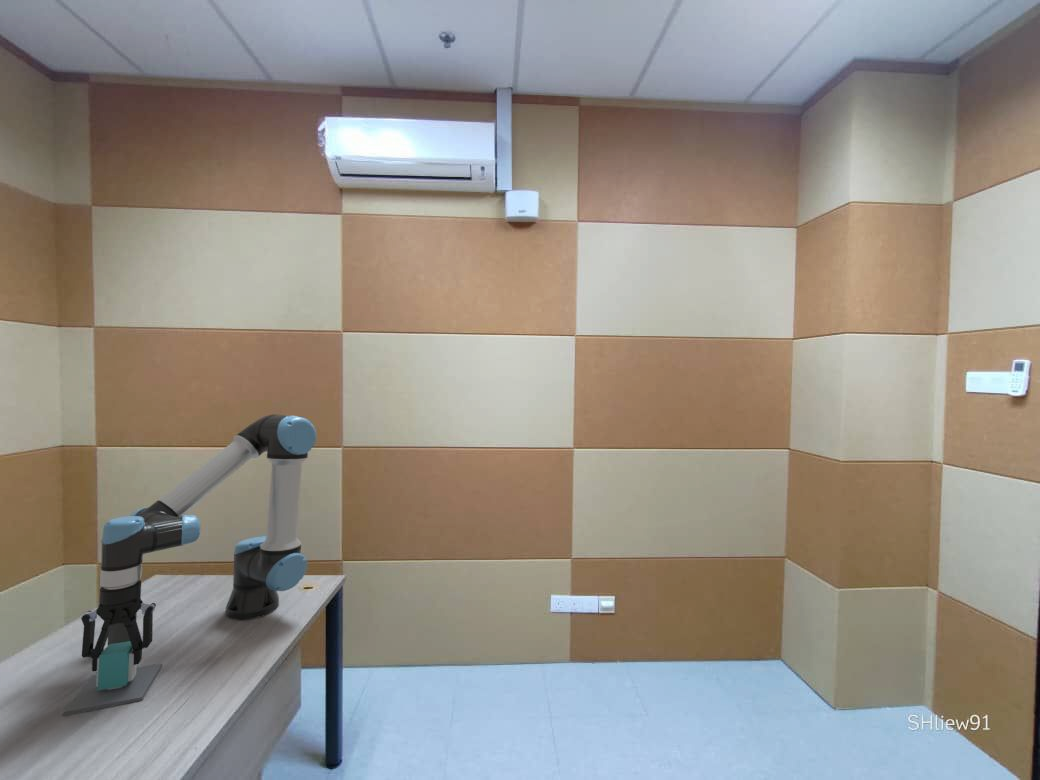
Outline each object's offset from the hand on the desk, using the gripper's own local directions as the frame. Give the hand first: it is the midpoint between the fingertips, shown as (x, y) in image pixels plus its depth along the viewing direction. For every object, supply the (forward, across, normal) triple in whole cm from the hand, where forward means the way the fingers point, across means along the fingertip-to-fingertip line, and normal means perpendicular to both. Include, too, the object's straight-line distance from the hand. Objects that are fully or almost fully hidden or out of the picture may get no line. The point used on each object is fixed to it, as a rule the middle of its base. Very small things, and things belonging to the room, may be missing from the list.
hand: (116, 680), depth 108 cm
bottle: (+2, +6, -21) cm, 22 cm away
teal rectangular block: (0, 0, 0) cm, 0 cm away
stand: (+2, 0, 0) cm, 2 cm away
